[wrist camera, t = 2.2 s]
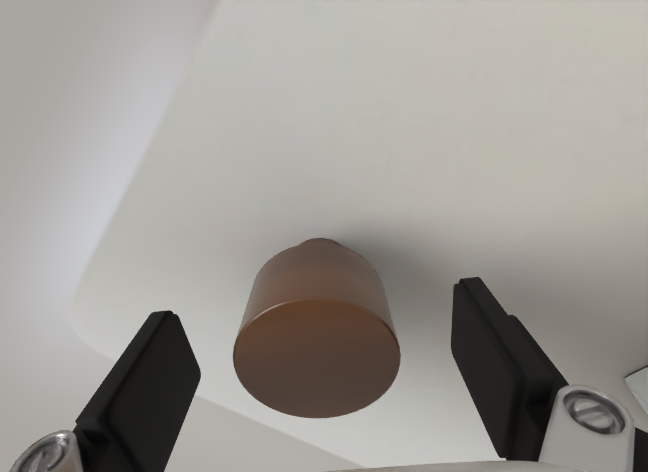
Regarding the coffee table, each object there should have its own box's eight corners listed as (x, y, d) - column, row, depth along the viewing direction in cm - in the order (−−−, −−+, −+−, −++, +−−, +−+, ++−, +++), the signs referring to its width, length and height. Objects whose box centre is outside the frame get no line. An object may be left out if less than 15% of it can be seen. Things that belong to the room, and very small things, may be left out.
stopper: (251, 219, 14) (211, 308, 9) (370, 205, 13) (398, 288, 8) (275, 312, 16) (253, 425, 11) (378, 302, 16) (403, 412, 11)
